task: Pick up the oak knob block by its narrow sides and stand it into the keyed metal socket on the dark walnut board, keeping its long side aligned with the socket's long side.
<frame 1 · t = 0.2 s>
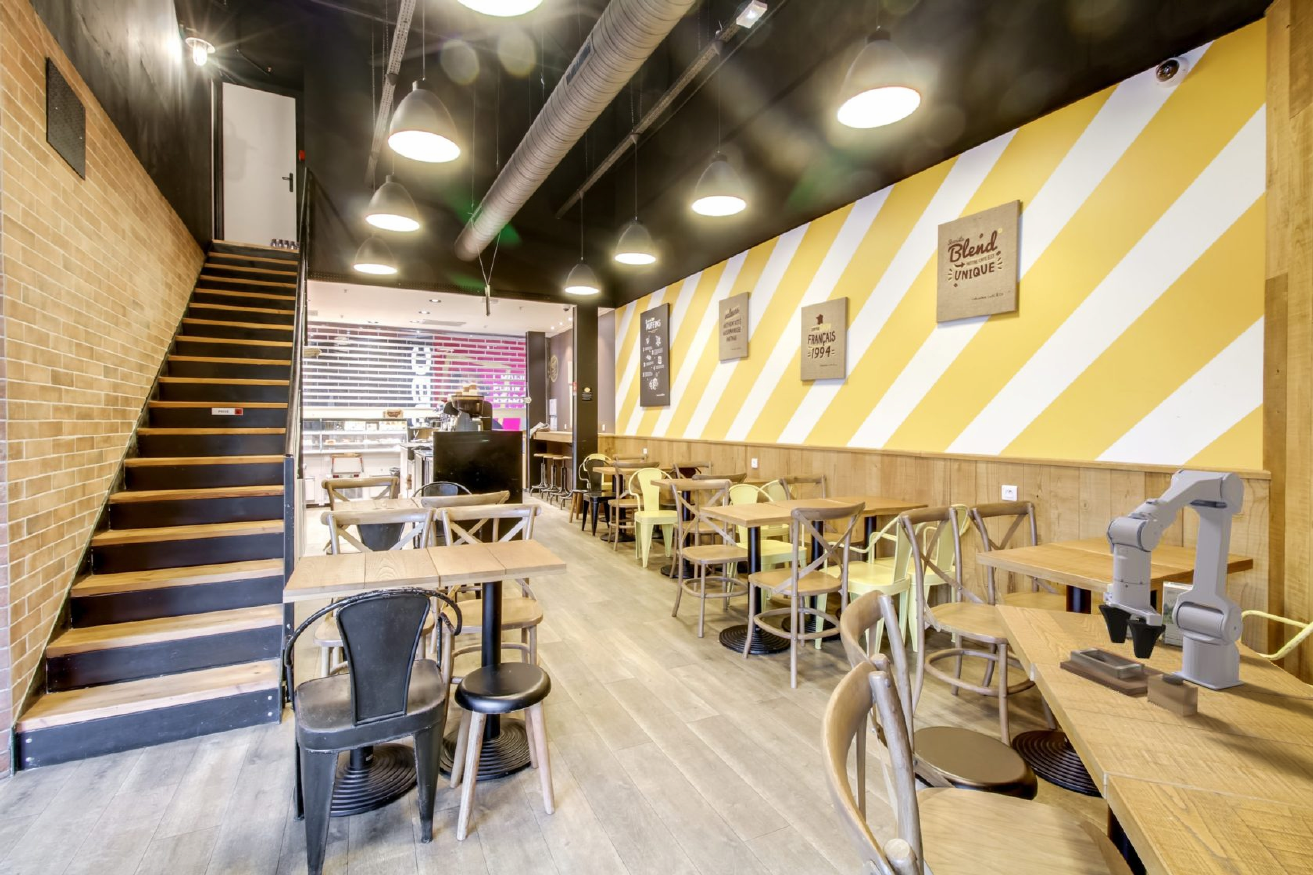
hand: (1129, 650, 116), 10 cm above the table, tool pointing down, fingers open, 7 cm apart
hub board: (1119, 675, 128), on the table
knob block: (1171, 707, 114), on the table
skincare box: (1120, 634, 154), on the table
syrup box: (1176, 644, 147), on the table
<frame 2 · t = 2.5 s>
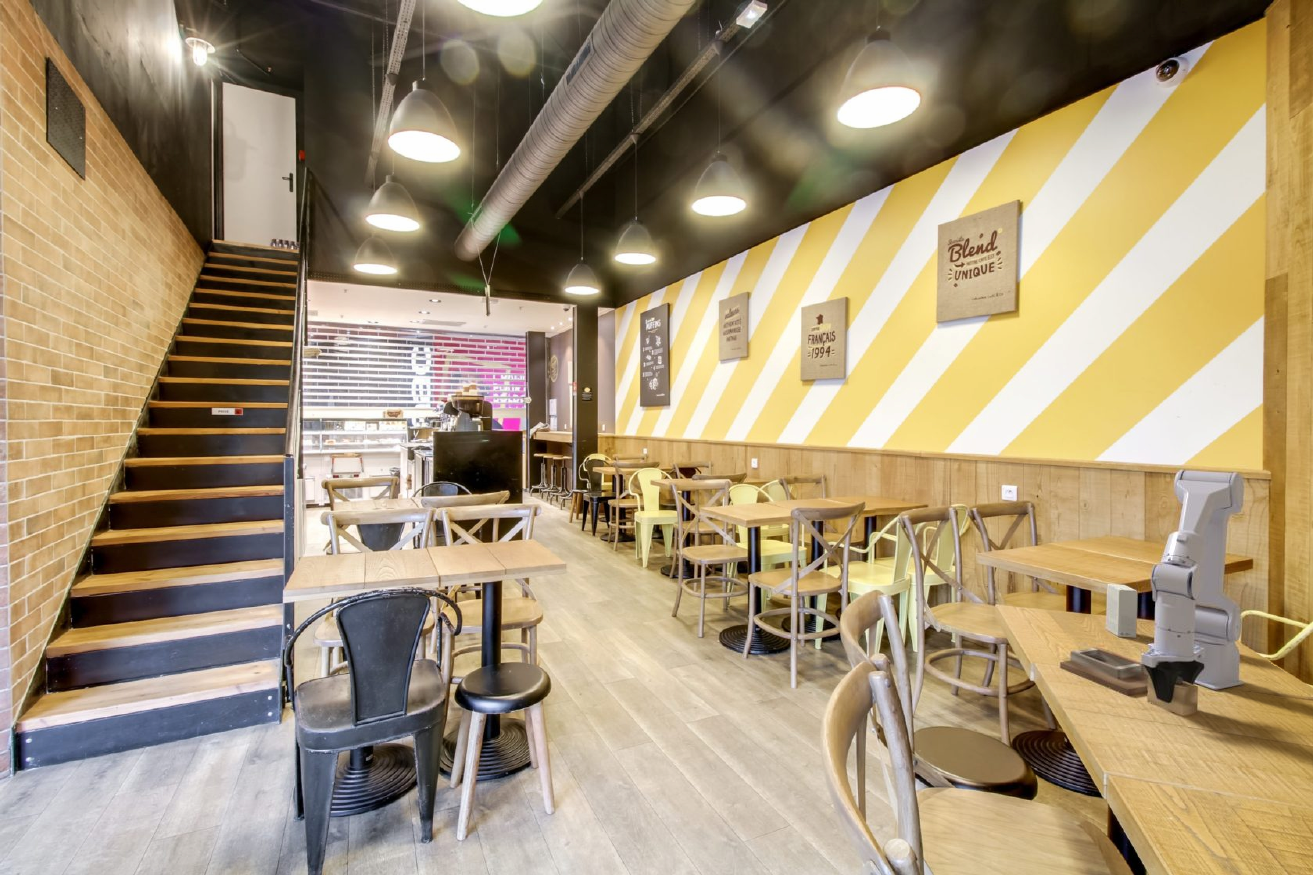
hand: (1172, 698, 114), 2 cm above the table, tool pointing down, fingers closed on knob block, 4 cm apart
knob block: (1171, 707, 114), on the table, touching gripper
everything else where it was.
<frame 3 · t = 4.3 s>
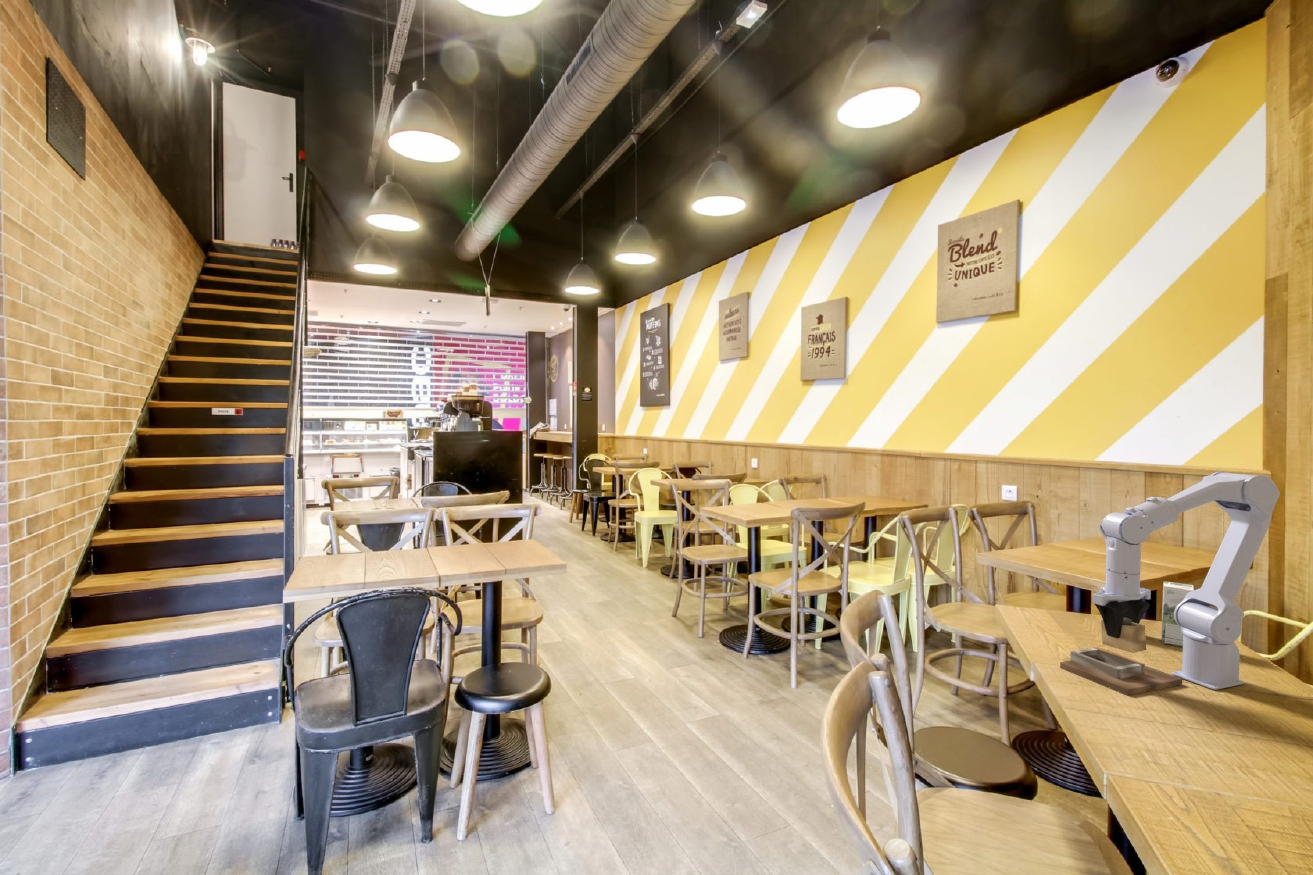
hand: (1120, 635, 126), 9 cm above the table, tool pointing down, fingers closed on knob block, 4 cm apart
knob block: (1124, 646, 125), point 7 cm above the table, touching gripper
everything else where it was.
when the fingers open (4 cm above the table, at t = 6.5 s): knob block stays where it is, resting on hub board.
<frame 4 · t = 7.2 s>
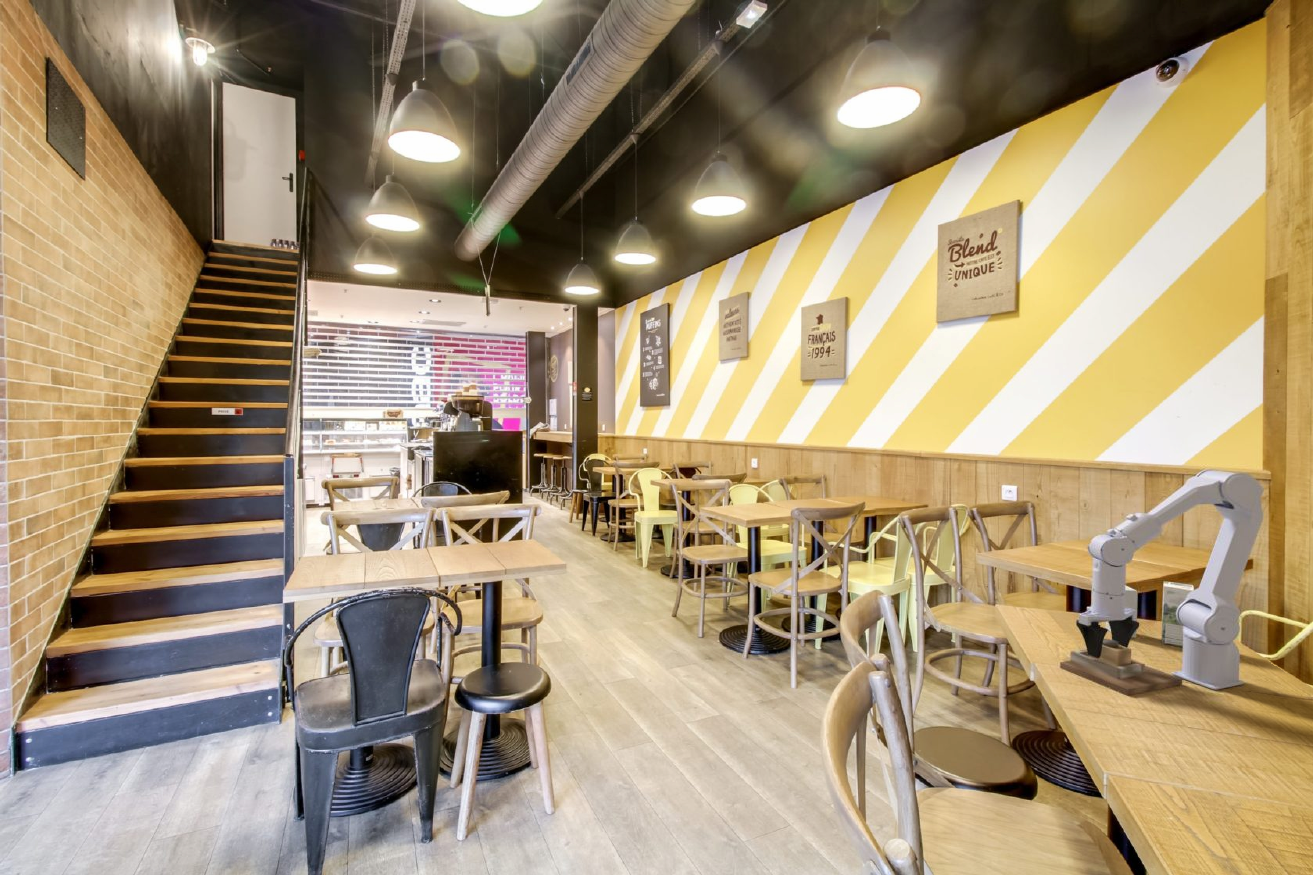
hand: (1106, 654, 130), 4 cm above the table, tool pointing down, fingers open, 7 cm apart
knob block: (1109, 668, 129), point 1 cm above the table, touching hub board
everything else where it was.
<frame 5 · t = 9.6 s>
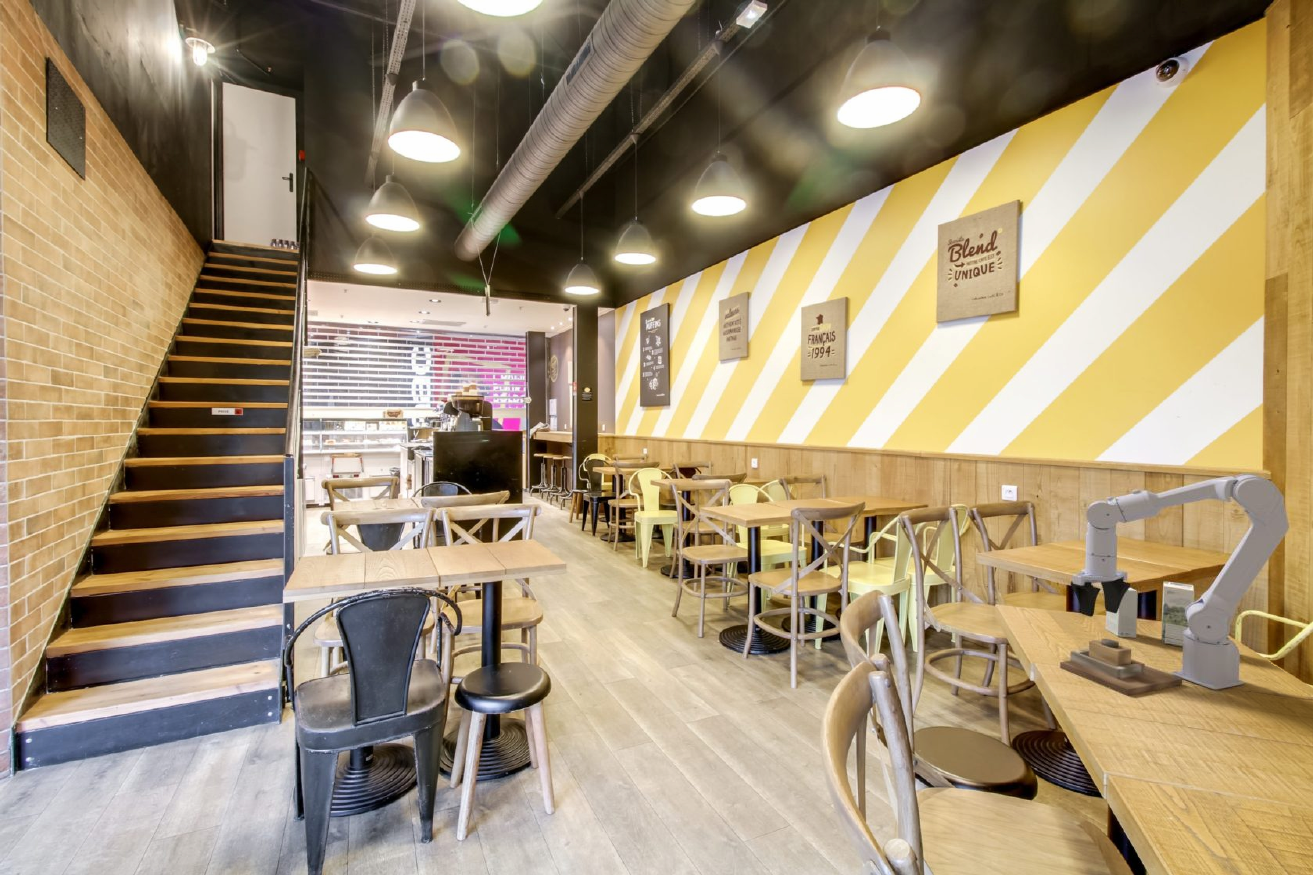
hand: (1099, 613, 137), 10 cm above the table, tool pointing down, fingers open, 7 cm apart
nothing on the table moved.
at the end: knob block 0.5 cm from the target spot, point 1.2 cm above the table; knob block tilted 0°; the gripper is holding nothing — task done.
